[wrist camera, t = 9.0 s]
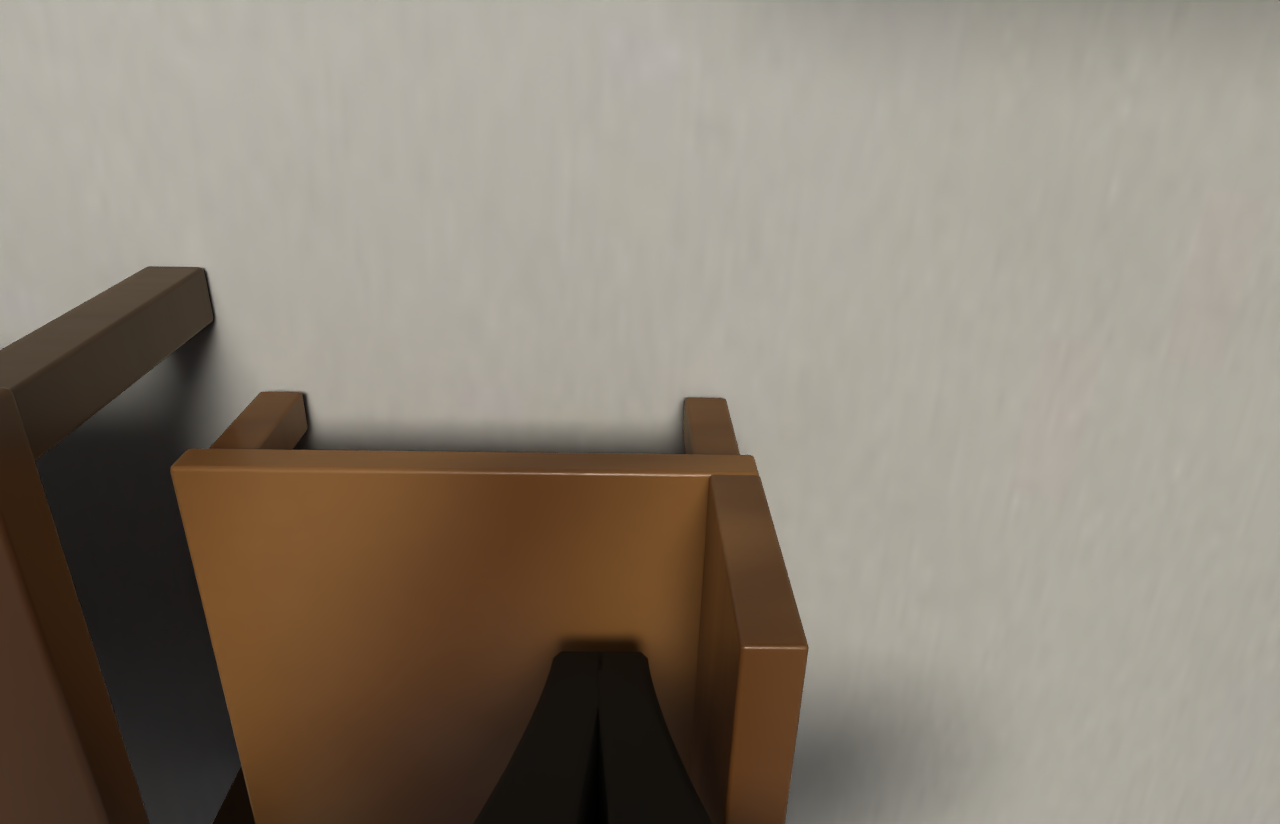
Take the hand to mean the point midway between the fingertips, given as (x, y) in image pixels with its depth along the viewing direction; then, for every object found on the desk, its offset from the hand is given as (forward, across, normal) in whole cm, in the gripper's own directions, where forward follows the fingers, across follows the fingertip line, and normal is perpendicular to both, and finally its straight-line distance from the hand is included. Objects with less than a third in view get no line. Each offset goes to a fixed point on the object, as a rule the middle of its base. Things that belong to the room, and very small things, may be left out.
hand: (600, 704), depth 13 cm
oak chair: (+4, +2, 0) cm, 4 cm away
